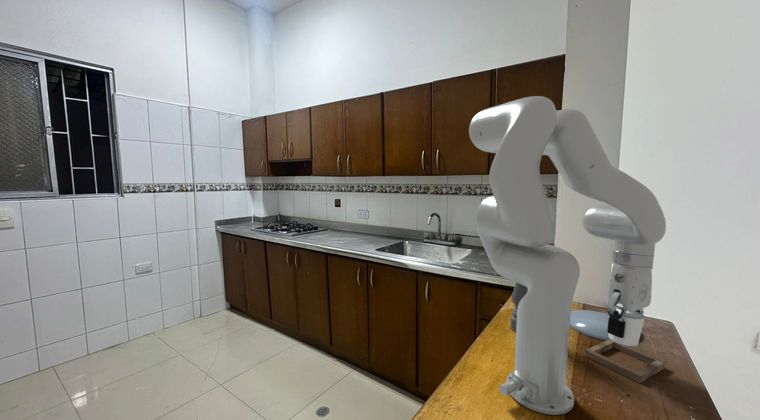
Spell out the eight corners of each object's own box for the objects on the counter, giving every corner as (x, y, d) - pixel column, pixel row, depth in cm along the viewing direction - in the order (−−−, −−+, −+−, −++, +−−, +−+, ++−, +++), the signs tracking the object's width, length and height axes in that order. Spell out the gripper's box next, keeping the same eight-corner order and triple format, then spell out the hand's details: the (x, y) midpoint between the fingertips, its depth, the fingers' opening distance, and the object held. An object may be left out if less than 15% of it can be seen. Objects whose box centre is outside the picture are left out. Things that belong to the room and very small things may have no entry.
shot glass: (648, 349, 70) (652, 320, 69) (614, 345, 71) (617, 316, 71) (630, 334, 77) (633, 307, 76) (599, 331, 78) (602, 304, 77)
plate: (618, 349, 80) (618, 345, 80) (552, 320, 96) (553, 317, 96) (652, 332, 88) (652, 329, 88) (586, 308, 104) (587, 306, 104)
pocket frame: (639, 383, 67) (640, 376, 67) (585, 355, 77) (585, 349, 77) (664, 368, 72) (665, 361, 72) (610, 344, 83) (610, 338, 82)
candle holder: (534, 327, 92) (538, 245, 89) (532, 336, 87) (536, 249, 84) (512, 322, 96) (515, 243, 93) (508, 330, 90) (512, 247, 88)
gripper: (631, 267, 65) (622, 348, 66) (669, 259, 73) (661, 331, 74) (593, 259, 71) (586, 332, 73) (632, 252, 79) (625, 318, 81)
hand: (624, 331), depth 74 cm, fingers closed on shot glass, 6 cm apart
